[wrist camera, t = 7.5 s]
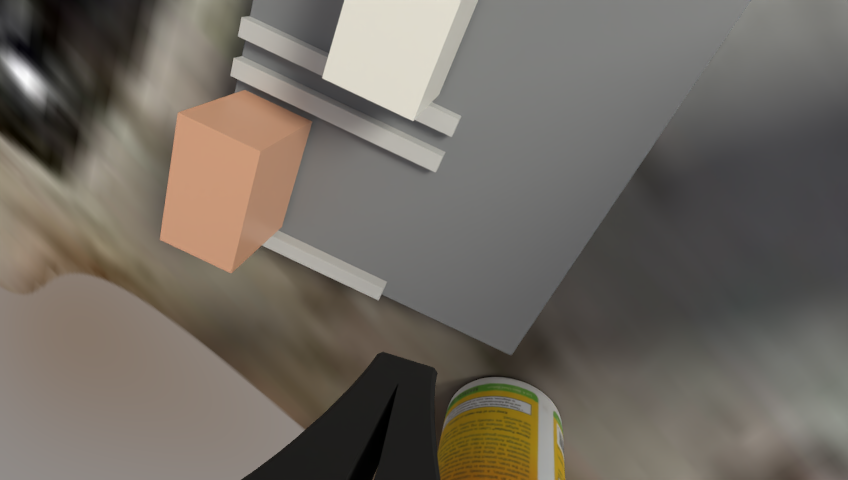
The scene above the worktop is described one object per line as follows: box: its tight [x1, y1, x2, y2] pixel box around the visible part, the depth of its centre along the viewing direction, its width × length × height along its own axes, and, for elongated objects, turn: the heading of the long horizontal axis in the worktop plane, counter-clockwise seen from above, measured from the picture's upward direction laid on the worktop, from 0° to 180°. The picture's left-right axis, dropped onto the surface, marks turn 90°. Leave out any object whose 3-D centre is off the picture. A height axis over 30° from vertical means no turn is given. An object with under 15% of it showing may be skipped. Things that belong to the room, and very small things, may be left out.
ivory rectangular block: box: [322, 0, 478, 121], centre depth 13 cm, size 2×4×4 cm, turn 157°
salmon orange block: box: [160, 90, 312, 273], centre depth 16 cm, size 2×4×4 cm, turn 158°
